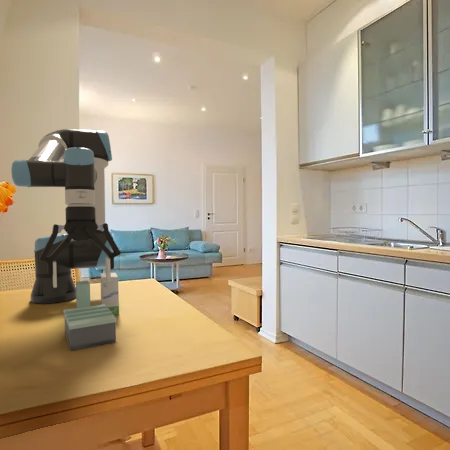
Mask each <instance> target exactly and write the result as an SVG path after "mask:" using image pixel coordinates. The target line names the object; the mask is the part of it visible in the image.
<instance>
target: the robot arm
mask: <svg viewBox="0 0 450 450" xmlns="http://www.w3.org/2000/svg"><path fill="white" fill-rule="evenodd" d="M62 160H63V161H62ZM112 160H113V155H112V149H111V142H110V137H109V133H108V132H106V131H105V130H97V129H94V130H92V129H74V128H72V129H71V128H63V129H58V130H55V131H51V132H49V133H48V134H46V135H44V136H42V138H41V139H40V141H39V143H38V147H37V149H36V150H35V151H34V152H33V154H32V155H31V156H30V158H29V159H28V160H27V159H20V160H19V159H17V160H13V162H12V163H11V169H10V170H11V178H12V179H11V180H12V182H13V184H14V185H15V186H17V187H27V188H64V200H65V201H64V204H65V205H67V206H66V208H65V224H64V225H60V224H56V223H55V224H53V225H52V232H51V234H50V235H47V236H41V237H38V238H36V240H35V241H34V251H33V252H34V267H35V268H34V270H35V280H34V283H33V286H32V290H31V292H30V302H31V303H33V304H44V305H45V304H56V303H57V304H58V303H61V302H66V301H67V302H68V301H70V300H73V299H76V283H75V281H74V280H73V279H74V278H73V277H72V269H88V268H89V269H91V268H93V269H94V268H96V269H97V268H98V269H99V268H105V273H106V281H107V282H111V273H112V272H111V270H114V269H115V258H116V257H118V256H120V255H121V254H122V253H121V251H120V249H119V247H118V246H117V244H116V242H115V239H114V236H113V235H111V232H110V230H109V224H108V223H106V189H105V188H106V186H105V185H106V183H105V181H106V179H105V169H106V168H107V167H108V166H109V162H111V161H112ZM62 230H63V231H65V233H62Z"/></svg>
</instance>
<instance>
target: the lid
mask: <svg viewBox="0 0 450 450" xmlns="http://www.w3.org/2000/svg"><path fill="white" fill-rule="evenodd" d="M75 287H76V298H75V299H76V300H75V303H76V305H75V306H76V308H75V307H74V308H68V309H63V311H62V313H63V315H64V320H65V319H66V322H67V324H68V327H69V330H71V329H77V328H83V327H89V326H96V325H102V324H108V323H114V322H116V323H117V321H118V319H117V317H116V315H113V313H112V312H111V311H110V309H108V308H107V306H106V305H105V304H103V305H101V304H97V305H91V283H90V282H89V281H88V280H81V281H75Z"/></svg>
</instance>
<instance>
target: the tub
mask: <svg viewBox="0 0 450 450" xmlns="http://www.w3.org/2000/svg"><path fill="white" fill-rule="evenodd" d="M116 324H117V322H114V323H108V324H102V325H96V326H89V327H83V328H77V329H71V330H69V327H68V324H67V322H66V319H65V318H64V333H65V337H66V340H67V344H68V346H69V350H70V351H77V350H82V349H86V348H92V347H97V346H102V345H108V344H112V343H113V344H114V343H116V342H117V329H116V326H117V325H116Z"/></svg>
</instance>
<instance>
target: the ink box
mask: <svg viewBox="0 0 450 450" xmlns="http://www.w3.org/2000/svg"><path fill="white" fill-rule="evenodd" d="M119 296H120V295H119V277H118V274H117V273H116V272H111V282H107V281H106V272H100V305H103V304H105V305H106V306H107V308H108V309H110V311H111V312H112V313H113V315H114V316H116V315H120V302H119V301H120V299H119Z"/></svg>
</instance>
